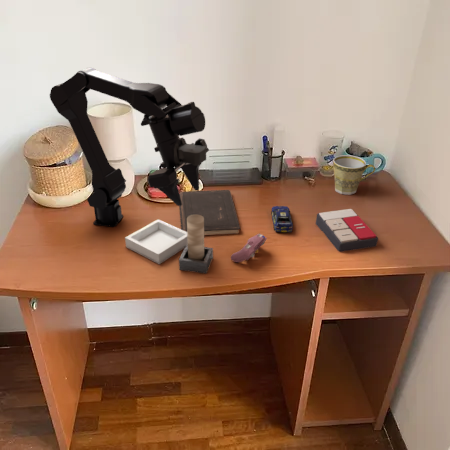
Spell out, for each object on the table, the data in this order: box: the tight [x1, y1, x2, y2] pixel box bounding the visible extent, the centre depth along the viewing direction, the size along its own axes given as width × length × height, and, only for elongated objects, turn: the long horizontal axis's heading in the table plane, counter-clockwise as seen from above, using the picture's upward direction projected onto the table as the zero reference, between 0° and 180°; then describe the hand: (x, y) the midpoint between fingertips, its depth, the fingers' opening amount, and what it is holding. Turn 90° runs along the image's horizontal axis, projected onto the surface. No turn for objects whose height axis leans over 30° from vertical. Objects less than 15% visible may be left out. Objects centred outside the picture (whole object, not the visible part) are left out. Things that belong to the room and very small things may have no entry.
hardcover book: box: [178, 189, 241, 236], centre depth 143 cm, size 16×23×2 cm
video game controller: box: [230, 233, 268, 263], centre depth 124 cm, size 10×5×7 cm, turn 148°
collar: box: [178, 245, 214, 275], centre depth 122 cm, size 7×7×3 cm
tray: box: [124, 218, 188, 265], centre depth 129 cm, size 12×12×3 cm
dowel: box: [187, 214, 205, 261], centre depth 119 cm, size 4×4×13 cm
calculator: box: [315, 208, 379, 253], centre depth 134 cm, size 11×4×15 cm
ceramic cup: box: [332, 154, 376, 196], centre depth 155 cm, size 13×10×10 cm
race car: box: [270, 205, 293, 233], centre depth 140 cm, size 15×7×4 cm, turn 6°
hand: (188, 197), depth 124 cm, fingers open, 9 cm apart
